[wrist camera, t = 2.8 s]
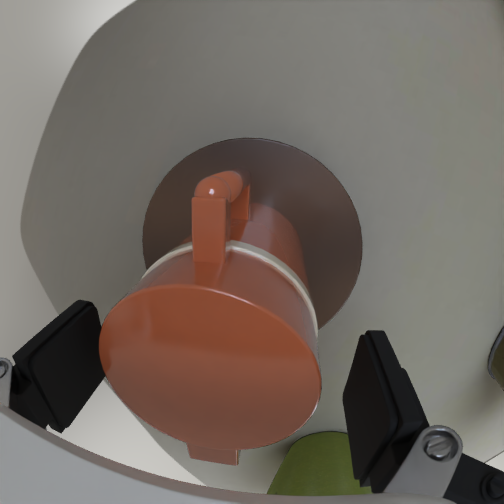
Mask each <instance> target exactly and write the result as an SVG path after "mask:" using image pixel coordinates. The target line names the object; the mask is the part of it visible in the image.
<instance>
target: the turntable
mask: <svg viewBox="0 0 504 504" xmlns="http://www.w3.org/2000/svg"><path fill="white" fill-rule="evenodd" d="M237 167H244V168H246V169H247V170H249V172H250V173H251V176H252V188H251V203H258V204H262V205H266V206H268V207H271V208H273V209H274V210H276V211H278V212H279V213H281V214H282V215H283V216H285V217H286V218H287V219H288V220H289V221H290V223H291V224H292V225H293V226H294V228H295V230H296V231H297V233H298V235H299V238H300V240H301V244H302V249H303V254H304V260H305V266H306V272H307V278H308V284H309V291H310V296H311V299H312V301H313V304H314V308H315V312H316V318H317V326H318V330H319V329H320V328H322V327H323V326H324V325H325V324H327V323H328V322H329V321H330V320H331V319H332V318H333V317H334V316H335V315H336V314H337V313H338V312H339V310H340V309H341V308H342V307H343V305H344V304H345V302H346V301H347V299H348V298H349V296H350V294H351V292H352V290H353V288H354V286H355V284H356V280H357V277H358V274H359V271H360V266H361V260H362V234H361V227H360V223H359V219H358V215H357V212H356V210H355V208H354V205H353V203H352V201H351V199H350V197H349V195H348V194H347V192H346V190H345V189H344V187H343V186H342V184H341V183H340V182H339V181H338V179H337V178H336V177H335V176H334V175H333V173H332V172H330V171H329V170H328V169H327V168H326V167H325V166H324V165H323V164H322V163H320V162H319V161H318V160H316V159H315V158H313V157H312V156H310V155H309V154H307V153H305V152H303V151H301V150H299V149H297V148H295V147H293V146H290V145H287V144H284V143H281V142H278V141H273V140H268V139H262V138H238V139H229V140H225V141H221V142H217V143H213V144H211V145H208V146H206V147H203V148H201V149H199V150H197V151H195V152H194V153H192V154H190V155H189V156H187V157H185V158H184V159H183V160H182V161H180V162H179V163H178V164H177V165H176V166H174V167H173V168H172V170H171V171H170V172H169V173H168V174H167V175H166V176H165V177H164V178H163V180H162V181H161V183H160V184H159V186H158V187H157V189H156V191H155V193H154V195H153V197H152V199H151V201H150V203H149V206H148V209H147V212H146V215H145V221H144V226H143V240H142V242H143V255H144V259H145V264H146V268H147V270H148V269H149V268H150V267H151V266H152V265H153V264H154V263H155V262H156V261H157V260H158V259H159V258H161V257H162V256H163V255H164V254H166V253H167V252H169V251H170V250H172V249H174V248H175V247H176V246H178V245H179V244H180V243H181V242H182V241H183V240H184V239H185V238H186V237H187V236H188V235H190V234H191V233H192V212H191V200H192V198H193V197H194V191H195V187H196V186H197V184H198V183H199V182H200V181H201V180H202V179H203V178H205V177H208V176H211V175H214V174H217V173H221V172H224V171H227V170H230V169H233V168H237Z"/></svg>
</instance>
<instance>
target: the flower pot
mask: <svg viewBox="0 0 504 504" xmlns="http://www.w3.org/2000/svg"><path fill="white" fill-rule="evenodd" d="M267 494H268V495H287V496H338V495H361V494H374V493H372V492H371V486H370V487H361V488H360V483H359V480H355V479H354V476H353V468H352V460H351V452H350V445H349V438H348V434H345V433H340V432H322V433H316V434H312V435H308V436H306V437H303V438H301V439H299V440H298V441H296V442H295V443H294V444H293V445H292V446H291V448H290V450H289V452H288V453H287V455H286V457H285V459H284V461H283V462H282V464H281V466H280V468H279V470H278V472H277V474H276V476H275V478H274V480H273V482H272V484H271V486H270V488H269V490H268V492H267Z"/></svg>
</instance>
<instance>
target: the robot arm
mask: <svg viewBox="0 0 504 504" xmlns="http://www.w3.org/2000/svg"><path fill="white" fill-rule="evenodd" d="M100 332H101V324H100V319H99V315H98V311H97V308H96V307H95V306H94V304H93V303H92V302H89V301H84V300H77V301H76V302H75V303H73V304H72V305H71V306H70V307H68V308H67V309H66V310H65V311H64V312H62V313H61V314H60V315H59V316H58V317H57V318H55V319H54V320H53V321H52V322H50V323H49V324H48V325H47V326H46V327H44V328H43V329H42V330H41V331H40V332H39V333H38V334H36V335H35V336H34V337H33V338H32V339H31V340H29V341H28V342H27V343H26V344H25V345H24V346H23V347H22V348H20V349H19V350H18V351H17V352H16V353H15V354H14V355H13V356H12V357H13V359H14V361H15V365H14V366H12V363H11V362H10V360H8V359H6V358H0V504H504V472H503V471H501V470H499V469H496V468H494V467H492V466H489V465H487V464H485V463H483V462H480V461H478V460H476V459H474V458H472V457H470V456H468V455H465V454H463V453H462V450H463V444H462V440H461V438H460V436H459V435H458V434H457V433H456V432H455V431H454V430H453V429H451V428H449V427H446V426H442V425H434V426H429V424H428V421H427V418H426V416H425V414H424V411H423V409H422V406H421V404H420V401H419V399H418V397H417V394H416V392H415V390H414V387H413V385H412V383H411V380H410V378H409V376H408V374H407V372H406V370H405V369H403V368H401V366H400V364H399V362H398V359H397V357H396V355H395V353H394V351H393V348H392V346H391V344H390V342H389V340H388V338H387V336H386V334H385V332H384V331H376V330H368V331H366V333H365V335H361V336H360V338H359V341H358V345H357V349H356V352H355V356H354V359H353V363H352V366H351V370H350V373H349V376H348V380H347V383H346V386H345V389H344V392H343V406H344V412H345V418H346V425H347V431H348V438H349V445H350V452H351V460H352V468H353V476H354V479H355V480H359V483H360V488H361V487H370V486H371V492H372V493H374V494H361V495H338V496H287V495H268V494H256V493H246V492H238V491H230V490H224V489H217V488H211V487H206V486H201V485H196V484H191V483H186V482H181V481H178V480H174V479H169V478H166V477H162V476H158V475H155V474H151V473H148V472H145V471H141V470H138V469H135V468H132V467H129V466H126V465H123V464H121V463H118V462H115V461H113V460H110V459H107V458H104V457H102V456H100V455H97V454H95V453H93V452H90V451H88V450H85V449H83V448H81V447H79V446H76V445H74V444H72V443H70V442H68V441H66V440H64V439H62V438H60V437H58V436H56V435H54V434H52V433H50V432H48V431H47V429H46V426H47V425H48V424H49V426H50V427H51V428H52V429H54V430H55V431H57V432H59V433H62V432H63V431H64V429H65V428H67V427H69V426H70V425H71V423H72V422H73V420H74V419H75V418H76V416H77V415H78V413H79V412H80V410H81V409H82V408H83V406H84V405H85V404H86V402H87V401H88V399H89V398H90V397H91V395H92V394H93V392H94V391H95V390H96V388H97V387H98V386H99V384H100V383H101V382H102V380H103V379H104V377H105V376H106V375H105V373H104V371H103V368H102V364H101V361H100V356H99V336H100Z"/></svg>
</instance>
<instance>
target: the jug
mask: <svg viewBox="0 0 504 504" xmlns="http://www.w3.org/2000/svg"><path fill="white" fill-rule="evenodd" d="M251 188H252V176H251V173H250V172H249V170H247V169H246V168H244V167H237V168H233V169H230V170H227V171H224V172H221V173H217V174H214V175H211V176H208V177H205V178H203V179H202V180H201V181H200V182H199V183H198V184H197V186H196V187H195V191H194V197H193V198H192V200H191V212H192V233H191V234H190V235H188V236H187V237H186V238H185V239H184V240H183V241H182V242H181V243H180V244H179V245H178V246H176V247H175V248H174V249H172V250H170V251H169V252H167V253H166V254H164V255H163V256H162V257H161V258H159V259H158V260H157V261H156V262H155V263H154V264H153V265H152V266H151V267H150V268H149V269H148V270H147V271H146V273H145V274H144V275H143V277H142V278H141V280H140V281H139V282H138V283H137V284H136V285H135V286H134V287H133V288H132V289H131V290H130V291H129V292H128V293H127V294H126V295H125V296H124V297H123V298H122V299H121V300H120V301H119V302H118V303H117V304H116V305H115V306H114V307H113V308H112V309H111V311H110V312H109V313H108V315H107V316H106V318H105V320H104V322H103V325H102V327H101V332H100V336H99V356H100V361H101V364H102V368H103V371H104V373H105V375H106V378H107V380H108V382H109V383H110V385H111V387H112V388H113V390H114V391H115V393H116V394H117V396H118V397H119V398H120V399H121V400H122V402H123V403H124V404H125V405H126V406H127V407H128V408H129V409H130V410H131V411H132V412H133V413H134V414H136V415H137V416H138V417H139V418H141V419H142V420H143V421H145V422H146V423H147V424H149V425H150V426H152V427H154V428H155V429H157V430H159V431H161V432H162V433H164V434H166V435H169V436H171V437H173V438H175V439H178V440H180V441H183V442H186V444H187V448H188V452H189V456H190V458H192V459H197V460H203V461H208V462H214V463H221V464H228V465H235V466H236V465H238V463H239V457H240V451H241V450H246V449H254V448H259V447H263V446H267V445H270V444H273V443H276V442H279V441H281V440H283V439H285V438H287V437H289V436H290V435H292V434H293V433H295V432H296V431H298V430H299V429H300V428H301V427H302V426H304V424H305V423H306V422H307V421H308V420H309V419H310V417H311V416H312V414H313V413H314V411H315V409H316V407H317V405H318V402H319V399H320V395H321V389H322V381H321V370H320V362H319V354H318V346H317V338H318V326H317V318H316V312H315V308H314V304H313V301H312V299H311V296H310V291H309V284H308V278H307V272H306V266H305V260H304V254H303V249H302V244H301V240H300V238H299V235H298V233H297V231H296V230H295V228H294V226H293V225H292V224H291V223H290V221H289V220H288V219H287V218H286V217H285V216H283V215H282V214H281V213H279V212H278V211H276V210H274V209H273V208H271V207H268V206H266V205H262V204H258V203H251Z"/></svg>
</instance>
